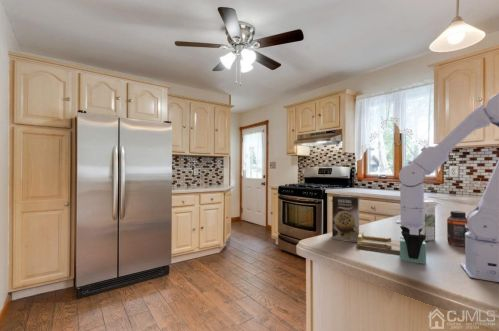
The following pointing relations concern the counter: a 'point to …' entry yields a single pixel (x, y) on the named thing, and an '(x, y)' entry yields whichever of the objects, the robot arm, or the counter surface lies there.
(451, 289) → the counter surface
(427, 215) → the syrup box
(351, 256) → the counter surface
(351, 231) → the cookie box
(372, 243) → the slide board
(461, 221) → the supplement bottle
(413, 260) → the teal block
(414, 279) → the counter surface
